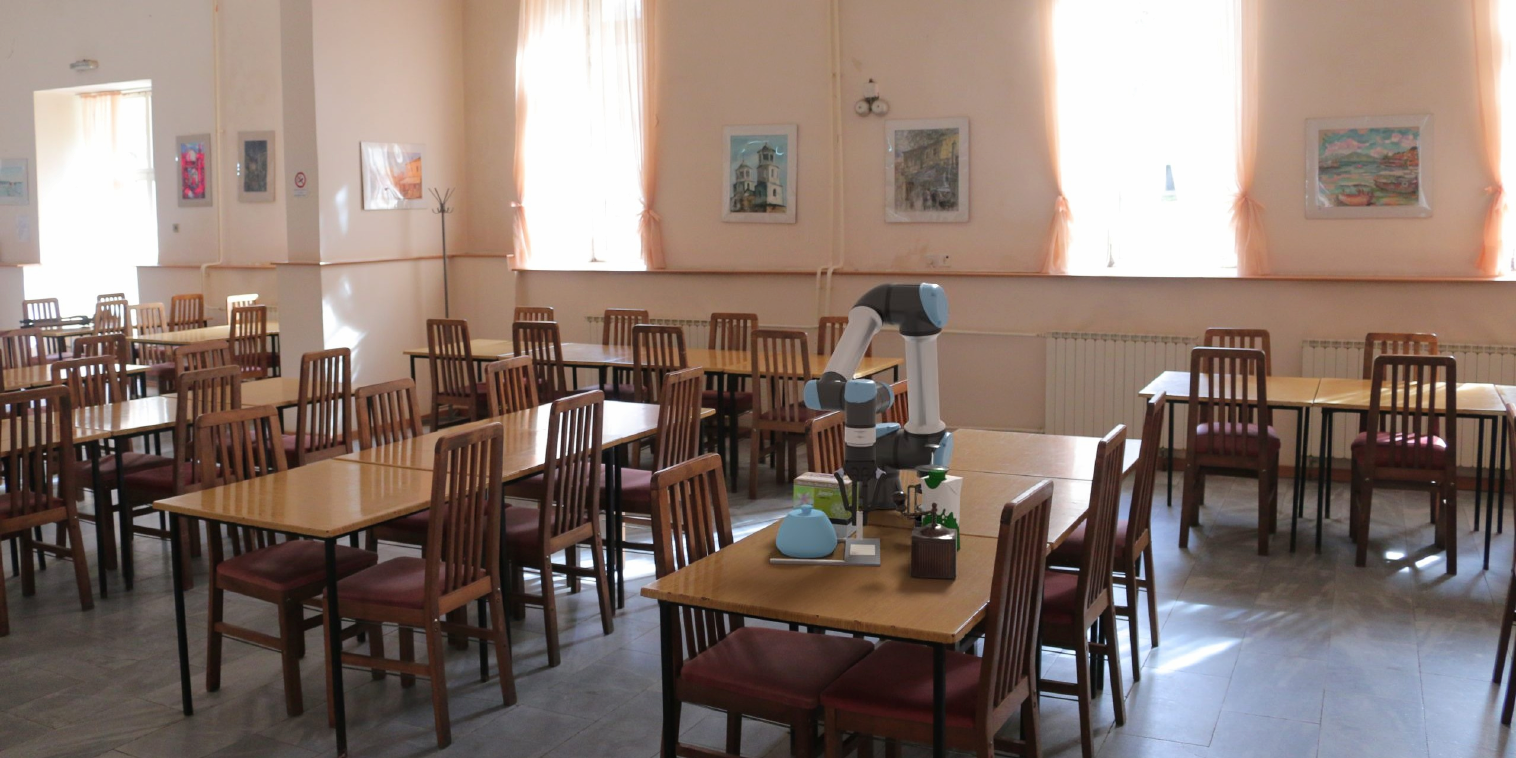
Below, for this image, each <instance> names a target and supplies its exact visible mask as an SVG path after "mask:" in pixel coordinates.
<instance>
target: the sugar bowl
mask: <svg viewBox="0 0 1516 758" xmlns="http://www.w3.org/2000/svg"><path fill="white" fill-rule="evenodd" d="M800 507H801V509H798V510H790V511H789V512H788V513H787V515H786V516H785V517H784V518H783V520H782V522H781V523H780V526H779V527H778V530H777V533H776V537H775V545H776V547H777V549H778V550H779V551H780V552H781V553H782V554H783V555H785V556H788V557H791V558H795V559H818V558H823V557H826V556H829V555H831V554H832V553H833V551H834V550H835V549H836V548H837V546H838V542H837V537H836V533H835V530H834V527H833V526H832V524H831V522H830V520H829V519H828V517H827V516H826V514H825V513H824V512H822V511H820V510H815V509H812V508H813V506H812V505H801V506H800Z"/></svg>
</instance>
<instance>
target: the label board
mask: <svg viewBox="0 0 1516 758" xmlns="http://www.w3.org/2000/svg"><path fill="white" fill-rule="evenodd" d="M837 543H845V548H844V559H818V558H771V557H770V559H769V564H779V565H780V564H781V565H783V564H784V565H785V564H787V565H818V566H819V565H822V566H824V565H825V566H827V565H828V566H863V567H867V566H869V567H881V538H870V537H863V539H862V540H856V537H848V538H837Z"/></svg>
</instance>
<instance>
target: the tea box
mask: <svg viewBox="0 0 1516 758" xmlns="http://www.w3.org/2000/svg"><path fill="white" fill-rule="evenodd" d="M843 480H844V485H845V489H846V493H847V497H848V501H849V505H851V506H852V481H851V480H850V479H849V477H848V476H847V475H845V474H844V477H843ZM858 492H859V482H857V511H859V506H858ZM801 505H812V506H813V508H812V509H815V510H820V511H822V512H824V513H825V514H826V516H827V517H828V519H829V520H830V522H831V524H832V526H833V527H834V530H835V533H836V537H837V538H850V536H852V535H853V534H854V533H856V526H852V513H851V512H850V511H846V510H845V509H844V505H843V501H842V496H841V492H840V488H839V484H838V481H837V480H836V478H835V477H834V473H833V474H831V473H820V472H813V471H812V472H811V471H805V472H804V473H802V474H801V475H799V476H797V477H796V478H794V479H793V506H792V507H793V510H798V509H801V507H800V506H801ZM793 510H792V511H793Z"/></svg>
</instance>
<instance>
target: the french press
mask: <svg viewBox="0 0 1516 758" xmlns="http://www.w3.org/2000/svg"><path fill="white" fill-rule="evenodd" d="M925 447H927V448H931V453H932V465H920V466H917V467H915V470H917V471H916V478H919V479H920V478H922V477H926V476H929V470H931V469H941V470H945V475H947V473H948V472H949V471H950V469H951V468H950V467H946V466H941V465H933V453H934V449H935V448H940V447H941V446H940V445H936V444H929V445H925ZM911 488H912V489H914V510H913V511H914V512H913V513H916V512H922V503H921V504H918V494H919V495H922V488H921V483H917V484H909V485H908V486H907V493H906V494H907V499H906V506H907V508H908V509H907V510H906V513H911ZM906 518H907V519H908V520H913V528H914V527H922V516H914V517H906Z"/></svg>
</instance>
